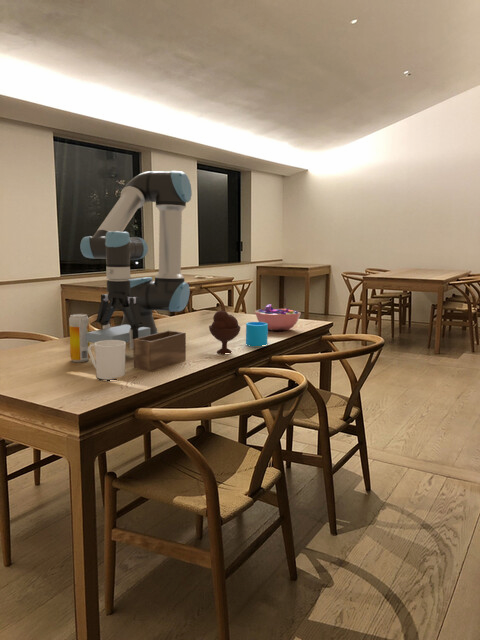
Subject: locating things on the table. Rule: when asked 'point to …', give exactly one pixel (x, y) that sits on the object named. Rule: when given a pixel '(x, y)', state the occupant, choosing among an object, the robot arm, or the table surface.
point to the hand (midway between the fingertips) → (119, 346)
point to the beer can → (79, 337)
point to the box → (159, 350)
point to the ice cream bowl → (224, 329)
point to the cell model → (277, 318)
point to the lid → (115, 334)
